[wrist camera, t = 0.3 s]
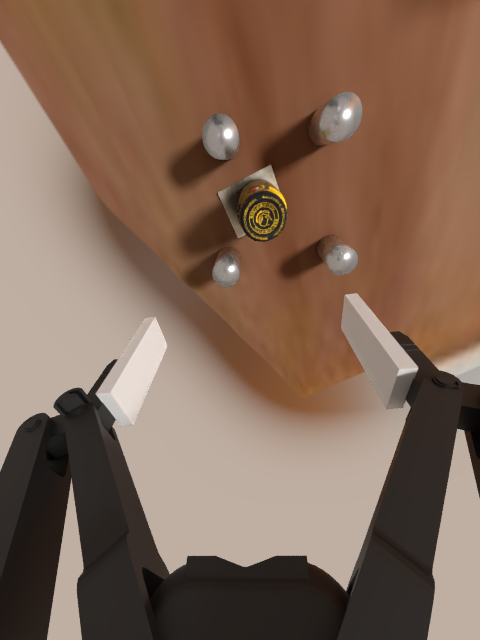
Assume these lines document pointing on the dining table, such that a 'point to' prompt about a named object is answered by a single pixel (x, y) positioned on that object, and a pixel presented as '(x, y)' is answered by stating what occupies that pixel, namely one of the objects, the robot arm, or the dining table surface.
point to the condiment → (256, 206)
